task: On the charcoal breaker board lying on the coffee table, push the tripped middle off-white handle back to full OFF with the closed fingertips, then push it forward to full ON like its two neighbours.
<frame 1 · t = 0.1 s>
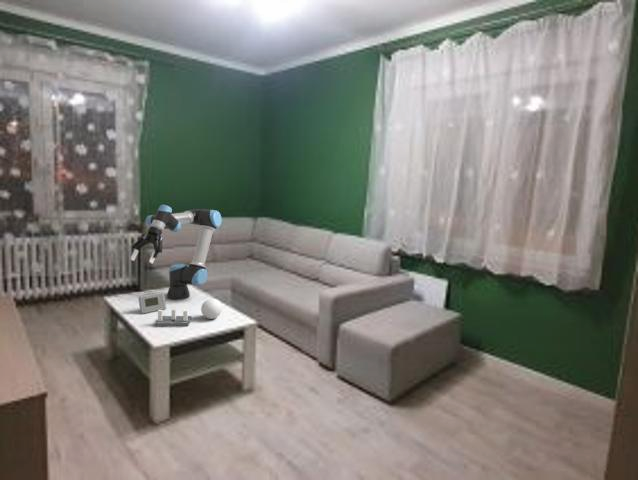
hand: (141, 261, 237), 36 cm above the table, tool tilted 35°, fingers open, 13 cm apart
tripped breaker: (173, 314, 242), point 5 cm above the table, slide at 0.0 cm
digital clock: (152, 311, 261), on the table
decorative ball: (211, 318, 253), on the table
breaker board: (173, 322, 243), on the table
breaker 3: (185, 315, 241), point 5 cm above the table, slide at 2.5 cm
breaker 1: (160, 315, 239), point 5 cm above the table, slide at 2.5 cm
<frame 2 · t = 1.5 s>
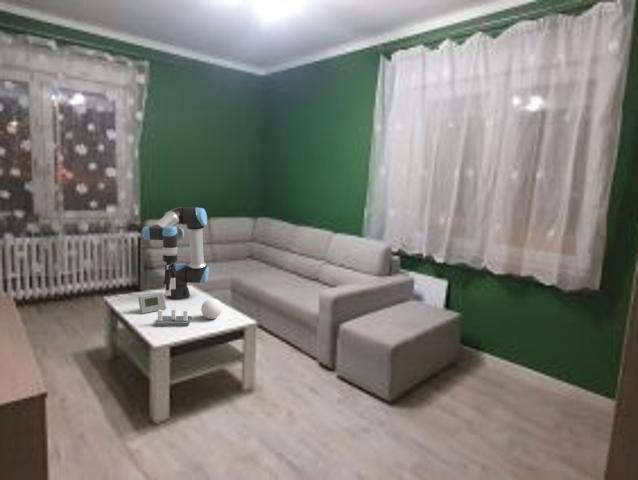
hand: (170, 292, 233), 21 cm above the table, tool pointing down, fingers open, 12 cm apart
nothing on the table moved.
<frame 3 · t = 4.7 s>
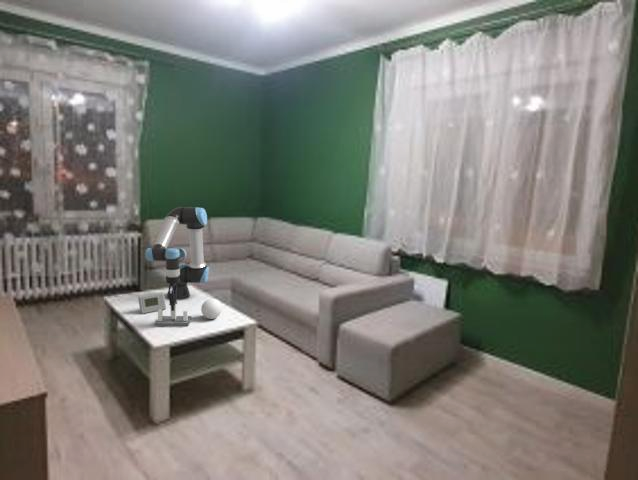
hand: (173, 315, 241), 5 cm above the table, tool pointing down, fingers closed
tripped breaker: (173, 313, 242), point 5 cm above the table, slide at -0.4 cm, touching gripper
everything else where it was.
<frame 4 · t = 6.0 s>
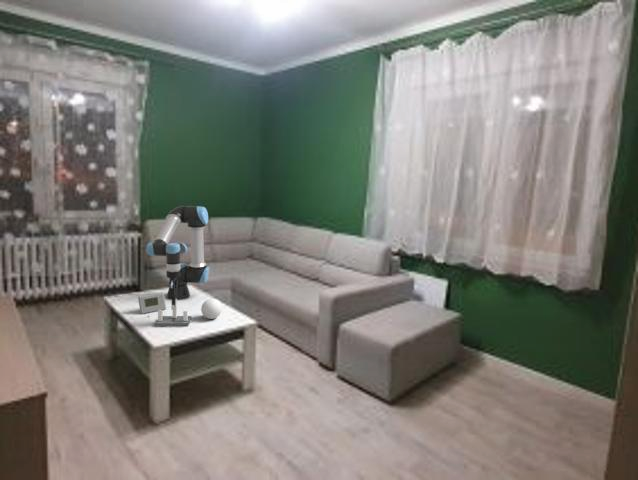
hand: (174, 309, 242), 8 cm above the table, tool pointing down, fingers closed
tripped breaker: (174, 312, 245), point 5 cm above the table, slide at -2.7 cm
everything else where it was.
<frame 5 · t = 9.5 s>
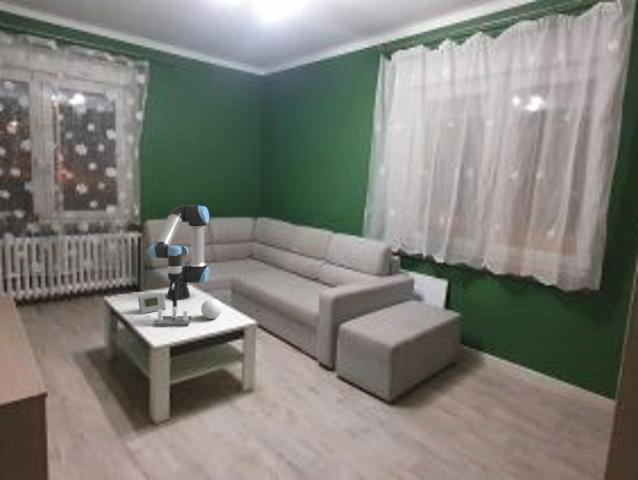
hand: (175, 311, 246), 6 cm above the table, tool pointing down, fingers closed
tripped breaker: (174, 312, 244), point 5 cm above the table, slide at -2.4 cm, touching gripper
everything else where it was.
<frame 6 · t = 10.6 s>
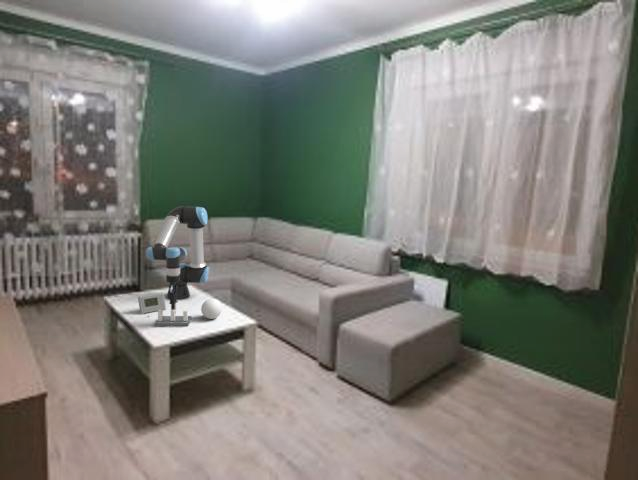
hand: (173, 314, 242), 5 cm above the table, tool pointing down, fingers closed
tripped breaker: (172, 315, 240), point 5 cm above the table, slide at 2.4 cm, touching gripper
everything else where it was.
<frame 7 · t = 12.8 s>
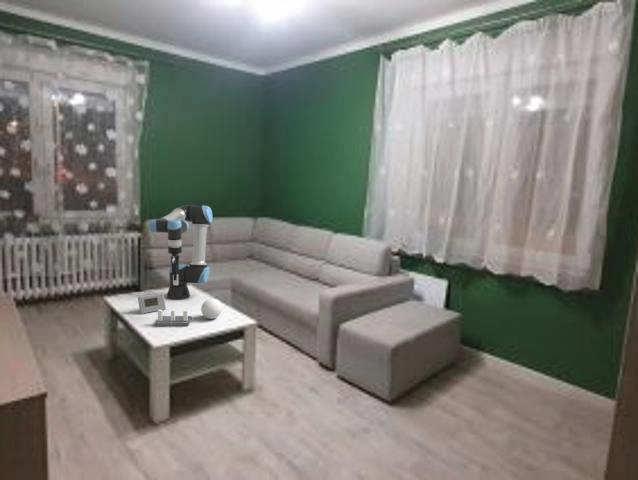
hand: (175, 284, 248), 20 cm above the table, tool pointing down, fingers closed
tripped breaker: (172, 315, 240), point 5 cm above the table, slide at 2.4 cm
everything else where it was.
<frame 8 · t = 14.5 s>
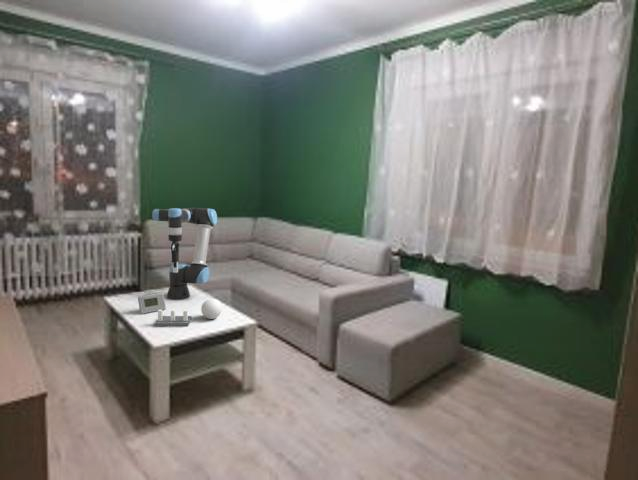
hand: (175, 272, 254), 26 cm above the table, tool pointing down, fingers closed
nothing on the table moved.
at the end: tripped breaker slide at 2.4 cm; breaker 1 slide at 2.5 cm; breaker 3 slide at 2.5 cm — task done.
